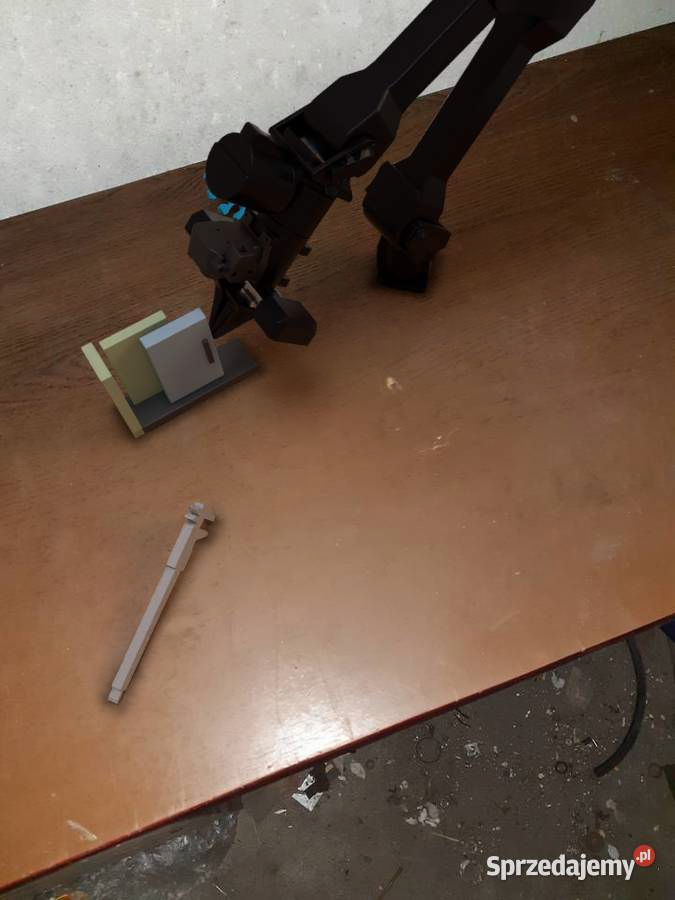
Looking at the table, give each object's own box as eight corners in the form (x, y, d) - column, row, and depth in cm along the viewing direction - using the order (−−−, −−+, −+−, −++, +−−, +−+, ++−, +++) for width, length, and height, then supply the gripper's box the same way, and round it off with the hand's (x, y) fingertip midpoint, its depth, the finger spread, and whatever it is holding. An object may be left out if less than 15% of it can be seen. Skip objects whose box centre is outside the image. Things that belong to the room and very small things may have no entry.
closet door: (218, 365, 82) (199, 307, 72) (226, 376, 81) (208, 319, 71) (165, 394, 80) (138, 338, 70) (172, 406, 79) (147, 351, 70)
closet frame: (238, 342, 85) (220, 274, 74) (259, 370, 83) (244, 304, 72) (117, 407, 81) (79, 346, 70) (135, 438, 79) (100, 380, 68)
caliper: (207, 515, 74) (194, 492, 69) (216, 518, 74) (204, 495, 69) (109, 700, 66) (85, 690, 60) (119, 705, 66) (96, 695, 60)
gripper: (181, 142, 67) (113, 271, 74) (281, 263, 60) (195, 393, 67) (260, 175, 76) (193, 287, 83) (356, 284, 68) (273, 396, 76)
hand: (211, 336), depth 77 cm, fingers closed
